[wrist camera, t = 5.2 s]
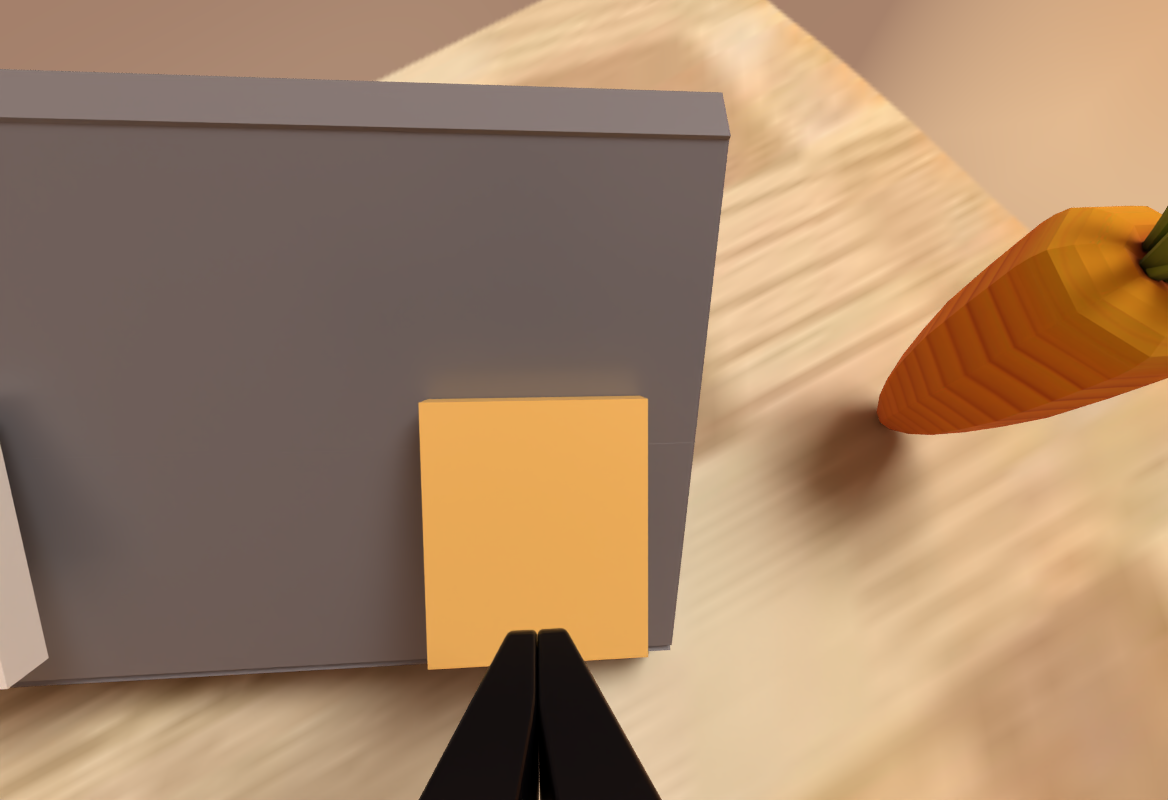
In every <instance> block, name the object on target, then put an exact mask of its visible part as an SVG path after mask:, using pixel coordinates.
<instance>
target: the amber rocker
mask: <svg viewBox="0 0 1168 800" xmlns="http://www.w3.org/2000/svg"><path fill="white" fill-rule="evenodd" d="M419 432H420V461H421V490H422V518H423V547H424V576H425V605H426V633H427V662H428V670H432V669H450V668H467V667H484V666H490V665H491V663H492V661H493V659H494V657H495V655H496V653H497V651H498V649H499V648H500V646H501V644H502V642H503V640H504V638H505V636H506V635H507V634H508V633H509V632H510V631H514V630H534V631H536V633H537V634H538V632H539V630H541V629H552V628H564V629H566V630H567V632H568V633H569V635H570V637H571V638H572V640H573V642H574V644H575V645H576V647H577V649H578V651H579V653H580V654H581V656H582V658H583V660H584V661H587V660H605V659H622V658H639V657H648V399H647V398H644V397H642V396H587V397H525V398H464V399H427V400H424V401H422V402H419Z"/></svg>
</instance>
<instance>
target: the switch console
mask: <svg viewBox="0 0 1168 800" xmlns="http://www.w3.org/2000/svg"><path fill="white" fill-rule="evenodd" d="M730 136H731V135H730V130H729V125H728V120H727V114H726V109H725V104H724V99H723V94H722V93H718V92H687V91H656V90H625V89H595V88H564V87H533V86H502V85H472V84H441V83H410V82H379V81H348V80H347V81H346V80H317V79H316V80H315V79H287V78H255V77H225V76H194V75H192V76H191V75H162V74H133V73H102V72H101V73H99V72H71V71H40V70H9V69H0V445H1V449H2V454H3V458H4V463H5V467H6V472H7V476H8V480H9V485H10V489H11V494H12V498H13V503H14V507H15V511H16V516H17V520H18V525H19V529H20V533H21V538H22V542H23V547H24V551H25V556H26V560H27V564H28V569H29V573H30V578H31V582H32V586H33V591H34V595H35V600H36V604H37V609H38V613H39V617H40V622H41V626H42V631H43V635H44V640H45V644H46V648H47V653H48V657H49V658H48V659H47V660H45V661H44V662H43V663H41V664H40V665H39V666H38V667H36V668H35V669H34V670H32V671H31V672H30V673H28V674H27V675H26V676H24V677H23V678H22V679H20V680H19V681H18V682H16V683H15V684H14V685H12V686H11V687H29V686H46V685H64V684H81V683H99V682H116V681H134V680H151V679H169V678H186V677H204V676H221V675H239V674H256V673H274V672H291V671H309V670H326V669H344V668H361V667H379V666H396V665H414V664H428V662H427V633H426V605H425V576H424V547H423V518H422V490H421V461H420V432H419V402H422V401H424V400H427V399H464V398H525V397H587V396H642V397H644V398H647V399H648V651H658V650H670V645H672V636H673V628H674V619H675V610H676V601H677V592H678V584H679V575H680V566H681V557H682V549H683V540H684V531H685V522H686V513H687V505H688V496H689V487H690V478H691V469H692V461H693V452H694V443H695V434H696V426H697V417H698V408H699V399H700V390H701V382H702V373H703V364H704V355H705V346H706V338H707V329H708V320H709V311H710V302H711V294H712V285H713V276H714V267H715V259H716V250H717V241H718V232H719V223H720V215H721V206H722V197H723V188H724V179H725V171H726V162H727V153H728V144H729V139H730ZM11 687H10V688H11Z"/></svg>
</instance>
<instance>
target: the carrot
mask: <svg viewBox="0 0 1168 800" xmlns="http://www.w3.org/2000/svg"><path fill="white" fill-rule="evenodd" d="M1166 378H1168V206H1167V208H1166V210H1165V211H1164V213H1163V214H1160V213H1158V212H1157V211H1155V210H1153V209H1151V208H1149V207H1148V206H1114V207H1082V208H1069V209H1067V210H1065V211H1063V212H1060V213H1058V214H1055V215H1053V216H1052V217H1050V218H1049V219H1047V220H1045V221H1044V222H1042V223H1041V224H1039V225H1038V226H1037V227H1036V228H1035V229H1033V230H1032V231H1031V232H1030V233H1028V234H1027V235H1026V236H1025V237H1024V238H1022V239H1021V240H1020V241H1019V242H1017V243H1016V244H1015V245H1014V246H1013V247H1011V248H1010V249H1009V250H1008V251H1006V252H1005V253H1004V254H1003V255H1002V256H1000V257H999V258H998V259H997V260H995V261H994V262H993V263H992V264H991V265H989V266H988V267H987V268H986V269H985V270H984V271H982V272H981V273H980V274H979V275H978V276H977V277H976V278H974V279H973V280H972V281H971V282H970V283H969V284H968V285H966V286H965V287H964V288H963V289H962V290H961V291H960V292H958V293H957V294H956V295H955V296H954V297H953V298H951V299H950V300H949V301H948V302H947V303H946V304H945V305H944V307H943V308H942V309H941V310H940V311H939V312H938V313H937V314H936V316H935V317H934V318H933V319H932V320H931V321H930V322H929V323H928V325H927V326H926V327H925V328H924V329H923V330H922V332H921V333H920V334H919V335H918V337H917V338H916V339H915V340H914V342H913V343H912V344H911V345H910V347H909V348H908V349H907V350H906V352H905V353H904V354H903V356H902V357H901V359H900V360H899V362H898V363H897V365H896V366H895V368H894V369H893V371H892V372H891V374H890V376H889V377H888V379H887V381H886V383H885V385H884V387H883V389H882V391H881V394H880V396H879V402H878V407H877V415H878V418H879V421H880V423H882V424H883V425H884V426H886V427H887V428H889V429H891V430H895V431H899V432H903V433H907V434H925V435H935V434H947V433H960V432H969V431H976V430H982V429H989V428H996V427H1002V426H1008V425H1013V424H1018V423H1023V422H1028V421H1033V420H1038V419H1043V418H1048V417H1051V416H1054V415H1057V414H1061V413H1064V412H1067V411H1070V410H1073V409H1077V408H1080V407H1083V406H1086V405H1089V404H1093V403H1096V402H1099V401H1102V400H1105V399H1108V398H1111V397H1114V396H1117V395H1120V394H1123V393H1126V392H1129V391H1132V390H1134V389H1137V388H1140V387H1143V386H1146V385H1149V384H1152V383H1155V382H1158V381H1160V380H1163V379H1166Z"/></svg>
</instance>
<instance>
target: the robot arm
mask: <svg viewBox="0 0 1168 800" xmlns="http://www.w3.org/2000/svg"><path fill="white" fill-rule="evenodd" d="M539 783H540V800H662V799H661V798H660V796H659V794H658V792H657V791H656V789H655V787H654V785H653V783H652V782H651V780H650V778H649V776H648V774H647V773H646V771H645V769H644V767H643V765H642V764H641V762H640V760H639V758H638V757H637V755H636V753H635V751H634V749H633V748H632V746H631V744H630V742H629V740H628V739H627V737H626V735H625V733H624V731H623V730H622V728H621V726H620V724H619V722H618V721H617V719H616V717H615V715H614V714H613V712H612V710H611V708H610V706H609V705H608V703H607V701H606V699H605V697H604V696H603V694H602V692H601V690H600V688H599V687H598V685H597V683H596V681H595V679H594V678H593V676H592V674H591V672H590V671H589V669H588V667H587V665H586V663H585V662H584V660H583V658H582V656H581V654H580V653H579V651H578V649H577V647H576V645H575V644H574V642H573V640H572V638H571V637H570V635H569V633H568V632H567V630H566V629H564V628H552V629H541V630H539V632H538V634H537V633H536V631H534V630H514V631H510V632H509V633H508V634H507V635H506V636H505V638H504V640H503V642H502V644H501V646H500V648H499V649H498V651H497V653H496V655H495V657H494V659H493V661H492V663H491V665H490V666H489V668H488V670H487V672H486V674H485V676H484V678H483V680H482V681H481V683H480V685H479V687H478V689H477V691H476V693H475V695H474V697H473V698H472V700H471V702H470V704H469V706H468V708H467V710H466V712H465V713H464V715H463V717H462V719H461V721H460V723H459V725H458V727H457V729H456V730H455V732H454V734H453V736H452V738H451V740H450V742H449V744H448V746H447V747H446V749H445V751H444V753H443V755H442V757H441V759H440V761H439V762H438V764H437V766H436V768H435V770H434V772H433V774H432V776H431V778H430V779H429V781H428V783H427V785H426V787H425V789H424V791H423V793H422V795H421V796H420V798H419V800H539Z"/></svg>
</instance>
